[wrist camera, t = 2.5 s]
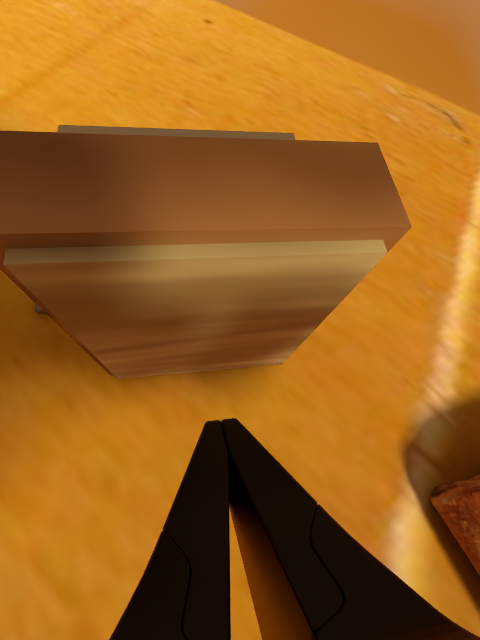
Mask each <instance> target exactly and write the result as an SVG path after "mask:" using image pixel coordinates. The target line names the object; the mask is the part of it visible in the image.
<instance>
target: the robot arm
mask: <svg viewBox="0 0 480 640" xmlns="http://www.w3.org/2000/svg"><path fill="white" fill-rule="evenodd" d="M229 507H230V511H231V516H232V520H233V524H234V528H235V532H236V536H237V540H238V544H239V548H240V552H241V556H242V560H243V564H244V568H245V572H246V576H247V580H248V584H249V588H250V592H251V596H252V600H253V604H254V608H255V612H256V616H257V620H258V624H259V628H260V632H261V636H262V640H480V637H478V636H476V635H474V634H473V633H471V632H469V631H467V630H465V629H464V628H462V627H461V626H459V625H457V624H456V623H454V622H453V621H451V620H450V619H448V618H447V617H446V616H444V615H443V614H442V613H440V612H439V611H438V610H437V609H435V608H434V607H433V606H432V605H430V604H429V603H428V602H427V601H426V600H424V599H423V598H422V597H421V596H420V595H419V594H417V593H416V592H415V591H414V590H413V589H412V588H410V587H409V586H408V585H407V584H406V583H405V582H403V581H402V580H401V579H400V578H399V577H398V576H396V575H395V574H394V573H393V572H392V571H390V570H389V569H388V568H387V567H386V566H385V565H383V564H382V563H381V562H380V561H379V560H378V559H376V558H375V557H374V556H373V555H372V554H371V553H370V552H368V551H367V550H366V549H365V548H364V547H363V546H362V545H361V544H359V543H358V542H357V541H356V540H355V539H354V538H353V537H352V536H350V535H349V534H348V533H347V532H346V531H345V530H344V529H343V528H342V527H341V526H340V525H339V524H338V523H337V522H336V521H335V520H334V519H333V518H332V517H331V516H330V515H329V514H328V513H327V512H326V511H325V510H324V509H323V508H322V507H321V506H320V505H319V504H318V505H317V502H316V501H315V500H314V498H313V497H312V496H311V495H310V494H309V493H308V492H307V491H306V490H305V489H304V488H303V487H302V486H301V485H300V484H299V483H298V482H297V481H296V480H295V479H294V478H293V477H292V476H291V475H290V474H289V473H288V472H287V471H286V469H285V468H284V467H283V466H282V465H281V464H280V463H279V462H278V461H277V460H276V459H275V458H274V457H273V456H272V455H271V454H270V453H269V452H268V451H267V450H266V449H265V448H264V447H263V446H262V445H261V444H260V443H259V441H258V440H257V439H256V438H255V437H254V436H253V435H252V434H251V433H250V432H249V431H248V430H247V429H246V428H245V427H244V426H243V425H242V424H241V423H240V422H239V421H238V420H237V419H235V418H232V419H224V420H222V422H221V421H220V420H215V421H207V422H206V423H205V425H204V427H203V430H202V432H201V435H200V437H199V440H198V442H197V445H196V447H195V450H194V452H193V455H192V457H191V460H190V462H189V465H188V467H187V470H186V472H185V475H184V477H183V480H182V482H181V484H180V487H179V489H178V492H177V494H176V497H175V499H174V502H173V504H172V507H171V509H170V512H169V514H168V517H167V519H166V522H165V524H164V527H163V531H162V532H161V534H160V536H159V539H158V541H157V544H156V546H155V549H154V551H153V553H152V555H151V558H150V560H149V562H148V565H147V567H146V569H145V571H144V574H143V576H142V578H141V580H140V582H139V584H138V586H137V588H136V590H135V592H134V594H133V596H132V598H131V600H130V602H129V604H128V605H127V607H126V609H125V611H124V613H123V615H122V617H121V619H120V620H119V622H118V624H117V626H116V628H115V630H114V632H113V634H112V635H111V637H110V639H109V640H231V627H230V543H229Z"/></svg>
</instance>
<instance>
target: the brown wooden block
mask: <svg viewBox="0 0 480 640" xmlns="http://www.w3.org/2000/svg"><path fill="white" fill-rule="evenodd" d="M411 227H412V226H411V224H410V221H409V219H408V217H407V214H406V212H405V209H404V207H403V204H402V202H401V199H400V197H399V194H398V192H397V189H396V187H395V184H394V182H393V179H392V177H391V175H390V172H389V170H388V167H387V165H386V162H385V160H384V157H383V155H382V152H381V150H380V147H379V145H378V143H369V142H338V141H306V140H275V139H244V138H212V137H181V136H149V135H118V134H86V133H55V132H24V131H0V269H1V270H2V271H3V272H4V273H5V274H6V275H7V276H8V277H9V278H10V279H11V280H12V281H14V282H15V283H16V284H17V285H18V286H19V287H20V288H21V289H22V290H23V291H24V292H25V293H26V294H27V295H28V296H29V297H30V298H31V299H32V300H33V301H34V302H35V303H36V304H37V305H38V306H40V307H41V308H42V309H43V310H44V311H45V312H46V313H47V314H48V315H49V316H50V317H51V318H52V319H53V320H54V321H55V322H56V323H57V324H58V325H59V326H60V327H61V328H62V329H63V330H64V331H66V332H67V333H68V334H69V335H70V336H71V337H72V338H73V339H74V340H75V341H76V342H77V343H78V344H79V345H80V346H81V347H82V348H83V349H84V350H85V351H86V352H87V353H88V354H89V355H90V356H92V357H93V358H94V359H95V360H96V361H97V362H98V363H99V364H100V365H101V366H102V367H103V368H104V369H105V370H106V371H107V372H108V373H109V374H110V375H114V376H115V377H116V378H117V379H124V378H135V377H146V376H157V375H168V374H179V373H190V372H201V371H212V370H223V369H234V368H245V367H256V366H268V365H279V364H283V362H284V361H285V360H286V359H287V358H288V357H289V356H290V355H291V354H292V353H293V352H294V351H295V350H296V349H297V348H298V347H299V346H300V345H301V343H302V342H303V341H304V340H305V339H306V338H307V337H308V336H309V335H310V334H311V333H312V332H313V331H314V330H315V329H316V328H317V327H318V326H319V324H320V323H321V322H322V321H323V320H324V319H325V318H326V317H327V316H328V315H329V314H330V313H331V312H332V311H333V310H334V309H335V308H336V306H337V305H338V304H339V303H340V302H341V301H342V300H343V299H344V298H345V297H346V296H347V295H348V294H349V293H350V292H351V291H352V290H353V288H354V287H355V286H356V285H357V284H358V283H359V282H360V281H361V280H362V279H363V278H364V277H365V276H366V275H367V274H368V273H369V272H370V271H371V269H372V268H373V267H374V266H375V265H376V264H377V263H378V262H379V261H380V260H381V259H382V258H383V257H384V256H385V255H386V254H387V253H388V251H389V250H390V249H391V248H392V247H393V246H394V245H395V244H396V243H397V242H398V241H399V240H400V239H401V238H402V237H403V236H404V235H405V233H406V232H407V231H408V230H409V229H410V228H411Z"/></svg>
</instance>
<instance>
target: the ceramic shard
mask: <svg viewBox="0 0 480 640" xmlns="http://www.w3.org/2000/svg"><path fill="white" fill-rule="evenodd" d="M429 497H430V499H431V502H432V504H433V506H434V507H435V509H436V510H437V511H438V513H439V514H440V516H441V517H442V519H443V520H444V522H445V523H446V525H447V526H448V528H449V529H450V531H451V532H452V534H453V535H454V537H455V538H456V540H457V541H458V543H459V544H460V546H461V548H462V549H463V551H464V552H465V554H466V555H467V557H468V558H469V560H470V561H471V563H472V564H473V566H474V568H475V569H476V571H477V572H478V574H479V576H480V473H479V474H478V475H477V476H474V477H472V478H470V479H468V480H466V481H457V482H453V483H451V484H447V485H440V486H438V487H436V488H435V489H434V492H433V493H432V494H431V495H430V496H429Z"/></svg>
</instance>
